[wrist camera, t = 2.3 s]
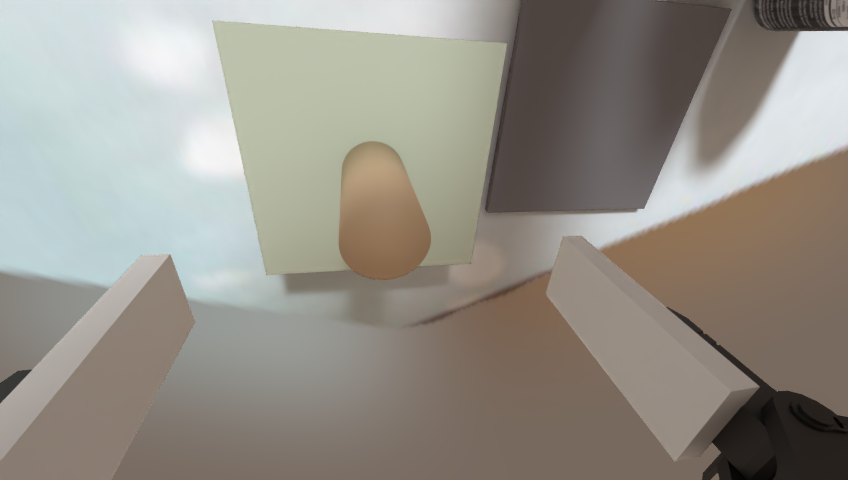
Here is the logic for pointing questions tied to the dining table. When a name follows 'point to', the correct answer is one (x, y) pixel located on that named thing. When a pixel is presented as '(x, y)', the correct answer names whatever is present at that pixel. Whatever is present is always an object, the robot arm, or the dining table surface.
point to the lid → (361, 144)
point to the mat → (596, 101)
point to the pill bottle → (802, 15)
